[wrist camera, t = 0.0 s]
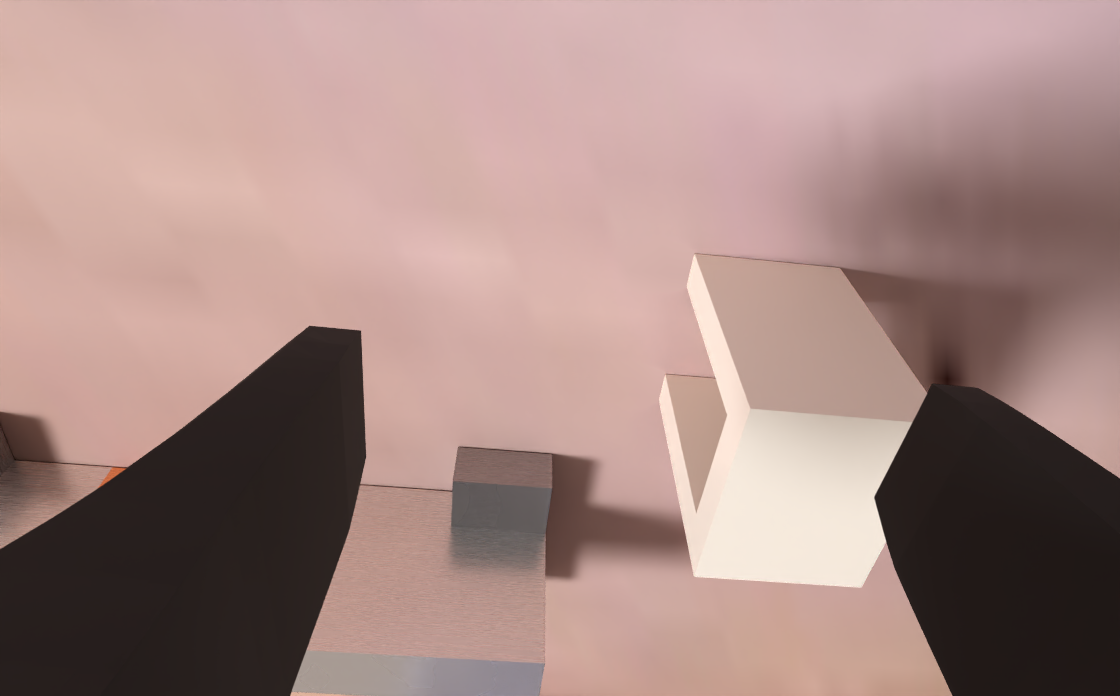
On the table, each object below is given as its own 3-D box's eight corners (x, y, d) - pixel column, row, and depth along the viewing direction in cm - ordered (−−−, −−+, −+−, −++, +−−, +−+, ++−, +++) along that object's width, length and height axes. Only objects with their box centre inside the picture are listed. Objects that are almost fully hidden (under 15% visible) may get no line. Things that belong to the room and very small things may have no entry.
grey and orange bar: (534, 575, 27) (531, 740, 22) (-41, 538, 25) (-186, 707, 20) (552, 454, 23) (552, 617, 18) (-111, 403, 22) (-305, 566, 17)
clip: (786, 410, 22) (861, 587, 17) (658, 400, 22) (693, 576, 17) (839, 267, 20) (949, 425, 14) (694, 253, 19) (750, 408, 14)
